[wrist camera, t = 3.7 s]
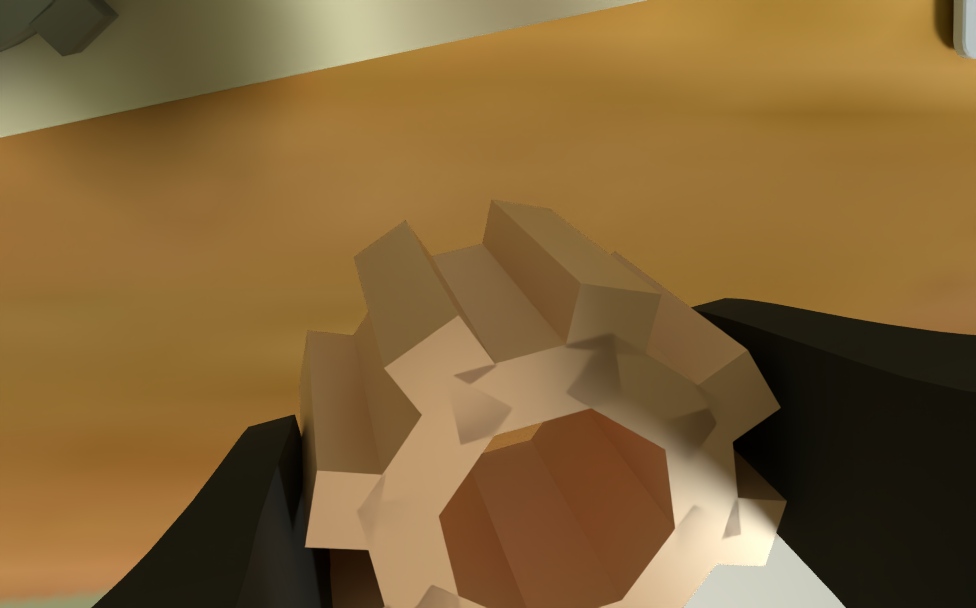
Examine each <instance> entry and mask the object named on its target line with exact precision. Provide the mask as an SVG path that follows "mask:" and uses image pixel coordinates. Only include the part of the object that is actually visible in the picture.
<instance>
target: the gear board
mask: <svg viewBox="0 0 976 608" xmlns="http://www.w3.org/2000/svg"><path fill="white" fill-rule="evenodd" d="M641 1H645V0H0V137H5V136H10V135H15V134H19V133H24V132H29V131H33V130H38V129H43V128H48V127H52V126H57V125H62V124H66V123H71V122H76V121H80V120H85V119H90V118H95V117H99V116H104V115H109V114H113V113H118V112H123V111H128V110H132V109H137V108H142V107H146V106H151V105H156V104H161V103H165V102H170V101H175V100H179V99H184V98H189V97H193V96H198V95H203V94H208V93H212V92H217V91H222V90H226V89H231V88H236V87H241V86H245V85H250V84H255V83H259V82H264V81H269V80H273V79H278V78H283V77H288V76H292V75H297V74H302V73H306V72H311V71H316V70H321V69H325V68H330V67H335V66H339V65H344V64H349V63H353V62H358V61H363V60H368V59H372V58H377V57H382V56H386V55H391V54H396V53H401V52H405V51H410V50H415V49H419V48H424V47H429V46H434V45H438V44H443V43H448V42H452V41H457V40H462V39H466V38H471V37H476V36H481V35H485V34H490V33H495V32H499V31H504V30H509V29H514V28H518V27H523V26H528V25H532V24H537V23H542V22H546V21H551V20H556V19H561V18H565V17H570V16H575V15H579V14H584V13H589V12H594V11H598V10H603V9H608V8H612V7H617V6H622V5H627V4H631V3H636V2H641Z"/></svg>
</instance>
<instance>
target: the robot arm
mask: <svg viewBox="0 0 976 608" xmlns="http://www.w3.org/2000/svg"><path fill="white" fill-rule="evenodd" d="M953 43H954V49H955V51H956V52H957V54H958V55H959V56H961V57H963V58H971V59H976V0H954V29H953ZM691 308H692V309H693V310H695V311H696V312H697V313H699V314H700V315H701V316H703V317H704V318H705V319H707V320H708V321H710V322H711V323H712V324H714V325H715V326H716V327H718V328H719V329H720V330H722V331H723V332H724V333H726V334H727V335H728V336H730V337H731V338H732V339H734V340H735V341H736V342H738V343H739V344H740V345H742V346H743V347H745V348H746V349H747V350H748V351H749V353H750V355H751V357H752V358H753V360H754V362H755V364H756V365H757V367H758V369H759V371H760V372H761V374H762V376H763V378H764V379H765V381H766V383H767V385H768V386H769V388H770V390H771V392H772V393H773V395H774V397H775V399H776V400H777V402H778V404H779V406H780V407H781V408H780V409H778V410H777V411H776V412H774V413H773V414H771V415H770V416H768V417H767V418H766V419H764V420H763V421H761V422H760V423H759V424H757V425H756V426H754V427H753V428H752V429H750V430H749V431H747V432H746V433H744V434H743V435H742V436H740V437H739V438H737V439H736V440H735V441H733V449H734V450H735V451H736V452H737V453H739V454H740V455H741V456H742V457H743V458H744V459H745V460H746V461H747V462H748V463H749V464H750V465H751V466H752V467H753V468H754V469H755V470H756V471H757V472H758V473H759V474H760V475H761V476H762V477H763V478H764V479H765V480H766V481H767V482H768V483H769V484H770V485H771V486H772V487H773V488H774V489H775V490H776V491H777V492H778V493H779V494H780V495H781V496H782V497H783V498H784V499H785V500H786V501H787V502H786V505H785V508H784V511H783V514H782V517H781V520H780V523H779V526H778V529H777V532H776V533H777V534H778V535H779V536H780V537H781V538H782V539H783V540H784V541H785V543H786V544H787V545H788V546H789V547H790V548H791V549H792V550H793V551H794V552H795V553H796V554H797V555H798V556H799V557H800V558H801V560H802V561H803V562H804V563H805V564H806V565H807V566H808V567H809V568H810V569H811V570H812V571H813V572H814V573H815V574H816V575H817V577H818V578H819V579H820V580H821V581H822V582H823V583H824V584H825V585H826V586H827V587H828V588H829V589H830V590H831V591H832V593H833V594H834V595H835V596H836V597H837V598H838V599H839V600H840V602H842V604H843V605H844V606H845V607H846V608H976V335H966V334H956V333H947V332H938V331H930V330H923V329H916V328H909V327H902V326H895V325H888V324H882V323H876V322H870V321H864V320H859V319H853V318H847V317H842V316H837V315H831V314H826V313H821V312H816V311H810V310H805V309H800V308H794V307H789V306H784V305H778V304H773V303H767V302H760V301H754V300H746V299H733V298H724V299H720V300H717V301H713V302H709V303H706V304H702V305H698V306H695V307H691ZM330 567H331V563H330V551H329V548H311V547H305V535H304V508H303V465H302V439H301V433H300V430H299V427H298V424H297V420H296V417H295V415H291V416H287V417H283V418H280V419H276V420H272V421H269V422H265V423H261V424H257V425H254V426H250V427H248V428H247V429H246V430H245V432H244V433H243V434H242V435H241V437H240V438H239V439H238V441H237V442H236V443H235V445H234V446H233V447H232V449H231V450H230V452H229V453H228V454H227V456H226V457H225V458H224V460H223V461H222V463H221V464H220V465H219V467H218V468H217V469H216V471H215V472H214V473H213V475H212V476H211V477H210V479H209V480H208V481H207V482H206V484H205V485H204V486H203V488H202V489H201V490H200V492H199V493H198V494H197V496H196V497H195V498H194V500H193V501H192V502H191V503H190V505H189V506H188V507H187V508H186V509H185V510H184V512H183V513H182V514H181V515H180V516H179V517H178V518H177V520H176V521H175V522H174V523H173V524H172V525H171V527H170V528H169V529H168V530H167V531H166V532H165V534H164V535H163V536H162V537H161V538H160V539H159V541H158V542H157V543H156V544H155V545H154V546H153V547H152V549H151V550H150V551H149V552H148V553H147V554H146V555H145V556H144V557H143V558H142V559H141V560H140V561H139V563H138V564H137V565H136V566H135V567H134V568H133V569H132V570H131V571H130V572H129V573H128V574H127V575H126V576H125V577H124V578H123V579H122V580H121V581H119V582H118V583H117V584H116V585H115V586H114V587H113V588H112V589H111V590H110V591H109V592H108V593H107V594H106V595H104V596H103V597H102V598H101V599H100V600H99V601H98V602H97V603H96V604H95V605H94V606H93V607H92V608H333V604H332V591H331V579H330Z"/></svg>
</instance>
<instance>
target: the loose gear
mask: <svg viewBox="0 0 976 608" xmlns="http://www.w3.org/2000/svg"><path fill="white" fill-rule="evenodd" d="M354 260H355V264H356V267H357V271H358V275H359V278H360V282H361V286H362V289H363V293H364V297H365V300H366V304H367V308H368V311H369V312H368V313H367V315H366V317H365V318H364V320H363V321H362V323H361V324H360V326H359V327H358V329H357V331H356V332H355V334H354V335H345V334H335V333H326V332H317V331H308V330H307V337H306V343H305V350H304V357H303V364H302V371H301V377H300V384H299V400H300V427H301V439H302V465H303V508H304V535H305V547H311V548H329V551H330V563H331V567H330V579H331V591H332V604H333V608H683V607H684V606H685V605H686V603H687V602H688V601H689V599H690V598H691V597H692V596H693V594H694V593H695V592H696V590H697V589H698V588H699V586H700V585H701V584H702V582H703V581H704V580H705V579H706V577H707V576H708V575H709V573H710V572H711V571H712V569H713V568H714V567H715V565H716V564H727V565H753V566H765V564H766V561H767V558H768V555H769V552H770V549H771V546H772V543H773V541H774V538H775V535H776V532H777V529H778V526H779V523H780V520H781V517H782V514H783V511H784V508H785V505H786V502H787V501H786V500H785V499H784V498H783V497H782V496H781V495H780V494H779V493H778V492H777V491H776V490H775V489H774V488H773V487H772V486H771V485H770V484H769V483H768V482H767V481H766V480H765V479H764V478H763V477H762V476H761V475H760V474H759V473H758V472H757V471H756V470H755V469H754V468H753V467H752V466H751V465H750V464H749V463H748V462H747V461H746V460H745V459H744V458H743V457H742V456H741V455H740V454H739V453H737V452H736V451H735V450H734V449H733V441H735V440H736V439H737V438H739V437H740V436H742V435H743V434H744V433H746V432H747V431H749V430H750V429H752V428H753V427H754V426H756V425H757V424H759V423H760V422H761V421H763V420H764V419H766V418H767V417H768V416H770V415H771V414H773V413H774V412H776V411H777V410H778V409H780V408H781V407H780V406H779V404H778V402H777V400H776V399H775V397H774V395H773V393H772V392H771V390H770V388H769V386H768V385H767V383H766V381H765V379H764V378H763V376H762V374H761V372H760V371H759V369H758V367H757V365H756V364H755V362H754V360H753V358H752V357H751V355H750V353H749V351H748V350H747V349H746V348H745V347H743V346H742V345H740V344H739V343H738V342H736V341H735V340H734V339H732V338H731V337H730V336H728V335H727V334H726V333H724V332H723V331H722V330H720V329H719V328H718V327H716V326H715V325H714V324H712V323H711V322H710V321H708V320H707V319H705V318H704V317H703V316H701V315H700V314H699V313H697V312H696V311H695V310H693V309H692V308H691V307H689V306H688V305H687V304H685V303H684V302H683V301H681V300H680V299H679V298H677V297H676V296H675V295H673V294H672V293H671V292H669V291H668V290H666V289H665V288H664V287H662V286H661V285H660V284H658V283H657V282H656V281H654V280H653V279H652V278H650V277H649V276H648V275H646V274H645V273H644V272H642V271H641V270H640V269H638V268H637V267H636V266H634V265H633V264H632V263H630V262H629V261H627V260H626V259H625V258H623V257H622V256H621V255H619V254H618V253H617V252H614V253H613V254H611V255H610V254H608V253H607V252H606V251H604V250H603V249H602V248H601V247H599V246H598V245H597V244H595V243H594V242H593V241H591V240H590V239H589V238H587V237H586V236H585V235H584V234H582V233H581V232H580V231H578V230H577V229H576V228H574V227H573V226H572V225H570V224H569V223H568V222H567V221H565V220H564V219H563V218H561V217H560V216H559V215H557V214H556V213H555V212H553V211H552V210H551V209H548V208H542V207H536V206H529V205H523V204H517V203H511V202H504V201H498V200H492V199H491V204H490V209H489V214H488V219H487V223H486V228H485V233H484V238H483V243H482V244H479V245H475V246H471V247H467V248H463V249H459V250H455V251H451V252H447V253H443V254H439V255H435V256H431V255H430V253H429V252H428V251H427V249H426V248H425V246H424V245H423V244H422V242H421V241H420V240H419V238H418V237H417V235H416V234H415V233H414V231H413V230H412V229H411V227H410V226H409V225H408V223H407V222H406V220H405V221H404V222H402V223H401V224H399V225H398V226H397V227H395V228H394V229H392V230H391V231H390V232H388V233H387V234H385V235H384V236H383V237H381V238H380V239H378V240H377V241H375V242H374V243H373V244H371V245H370V246H368V247H367V248H366V249H364V250H363V251H361V252H360V253H359V254H357V255H356V256H354ZM540 422H543V423H542V424H541V426H540V427H539V429H538V430H537V432H536V433H535V435H534V436H533V437H532V439H531V440H528V441H525V442H521V443H518V444H514V445H511V446H507V447H504V448H500V449H497V450H493V451H490V452H486V453H483V451H484V450H485V448H486V447H487V445H488V444H489V442H490V441H491V439H492V438H493V437H494V435H498V434H501V433H505V432H509V431H512V430H516V429H519V428H523V427H526V426H530V425H533V424H537V423H540ZM482 453H483V454H482Z"/></svg>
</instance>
